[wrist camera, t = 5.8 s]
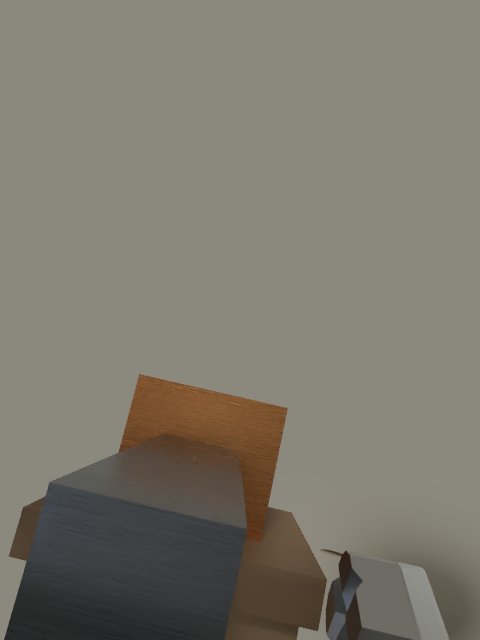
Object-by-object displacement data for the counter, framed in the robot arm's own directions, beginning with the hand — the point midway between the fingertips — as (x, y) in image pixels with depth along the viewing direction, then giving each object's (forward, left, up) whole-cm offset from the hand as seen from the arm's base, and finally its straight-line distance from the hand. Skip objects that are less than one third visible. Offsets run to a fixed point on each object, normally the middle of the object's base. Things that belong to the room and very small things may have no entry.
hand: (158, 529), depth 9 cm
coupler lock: (0, +6, -2) cm, 6 cm away
